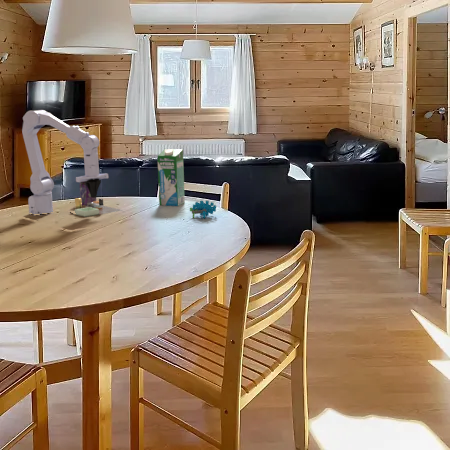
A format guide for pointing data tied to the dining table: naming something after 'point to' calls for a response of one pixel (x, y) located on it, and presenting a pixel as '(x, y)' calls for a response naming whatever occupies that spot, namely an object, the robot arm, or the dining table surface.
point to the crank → (96, 204)
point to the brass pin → (78, 203)
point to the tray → (87, 211)
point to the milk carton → (171, 177)
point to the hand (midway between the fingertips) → (93, 197)
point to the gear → (203, 208)
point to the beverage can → (85, 194)
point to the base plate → (104, 209)
